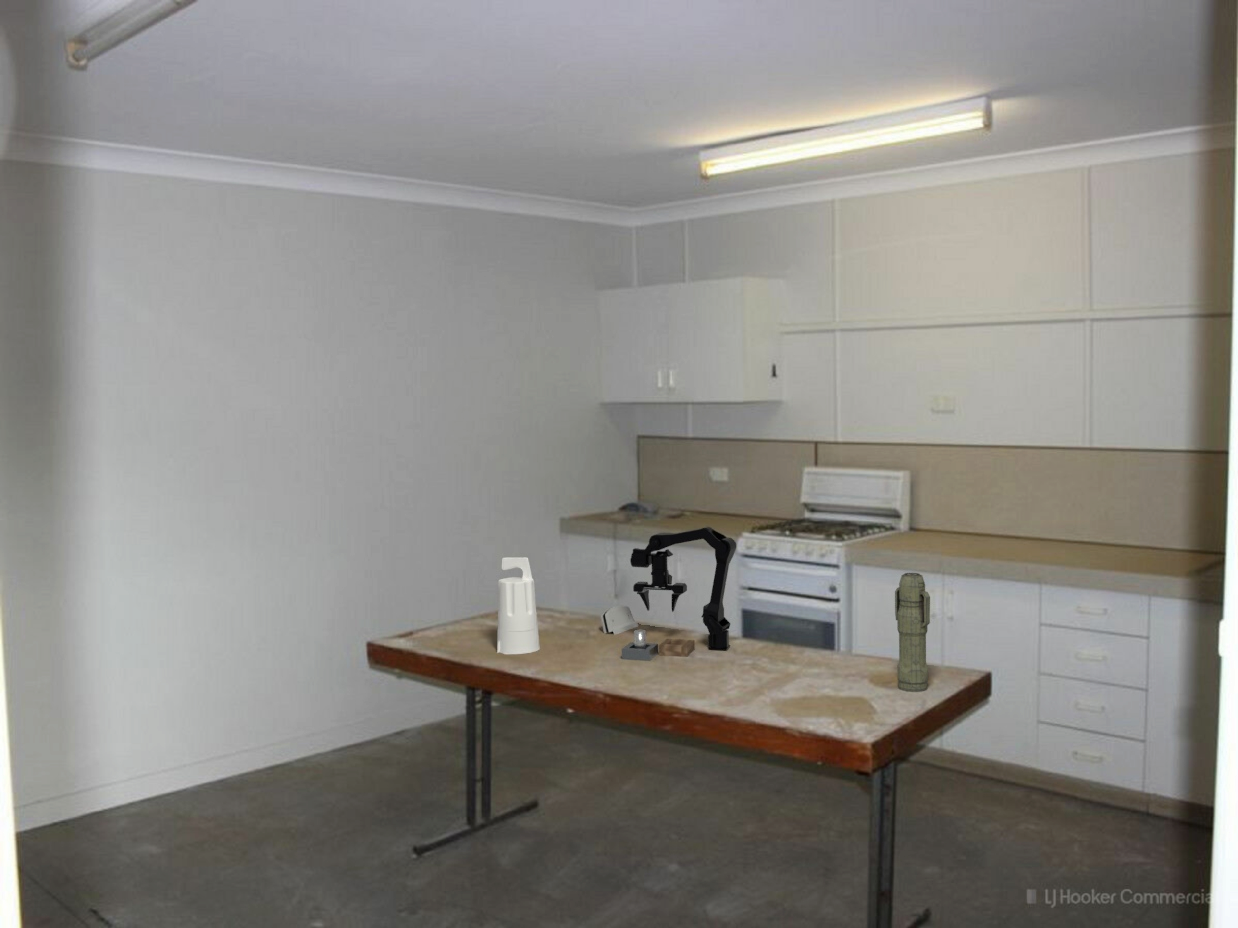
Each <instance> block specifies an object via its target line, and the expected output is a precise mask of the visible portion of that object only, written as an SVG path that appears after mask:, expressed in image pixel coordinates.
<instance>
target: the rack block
mask: <svg viewBox="0 0 1238 928" xmlns="http://www.w3.org/2000/svg"><path fill="white" fill-rule="evenodd" d="M657 655H659V644H658V643H655V642H654V643H652V642H651V643H650V642H646V649H638V648H634V641H633V642H632V641H630V642H629V643H628V644H626V645H625V646H624V647H622V648H621V660H631V661H632V660H634V661H645V662H646V661H649V662H650V661H651V660H653V658H655V657H657Z"/></svg>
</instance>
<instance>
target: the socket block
mask: <svg viewBox="0 0 1238 928" xmlns="http://www.w3.org/2000/svg"><path fill="white" fill-rule="evenodd" d="M695 644H696V643H695V639H681V638H666V639H665V640H663V641H662V642H661V643H660V644H658V655H659V656H670V657H683V658H685V657H688V656H690V655H691V654H692V653H693V652H694V651H695V649H696V648H695V647H696V646H695Z"/></svg>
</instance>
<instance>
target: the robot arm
mask: <svg viewBox="0 0 1238 928" xmlns="http://www.w3.org/2000/svg"><path fill="white" fill-rule="evenodd" d="M698 540H704V541H705V542H706V543H707V544H708V545H709V546H710V548H713V549H714V555H715V556H714V557H715V561H716V564H715V570H714V577H713V582H712V589H711V594H710V600H709V602H708V603H707V604H705V605H704V606H702V615H701V618H702V623H703V624H704V626H705V627H706V629H707V631H708V633H709V634H708V635H707V644H708V645H707V647H708V650H713V651H728V650H729V648H730V647H731V645H730V637H729V636H730V631H729V629H730V627H731V622H730V621H729V620H728V619H727V618H726V617H725V607H724V596H725V595H724V594H725V590H726V585H727V579H728V573H729V567H730V563H731V561H732V559H733V558H734V556H735V552H736V550H737V542H736V541H735V540H734V539H733V538H732V537H727V536H726V535H725V534H723V533H721V532H720V531H716V530H715V529H714V528H712V527H710V526H705V527H702V528H696V529H691V530H686V531H680V532H675V533H674V532H659V533H656V534H653V535H651V536H650V538H649V541H648V544H647V545H646V546H645V548H639V547H637V548H635V547H634V548H633V549H632V553H631V556H630V559H629V561H630V565H631V567H632V568H645V569H646V568H647V569H648V568H649V567H650V566H651V572H650V575H651V583H650V584H649V582H648V581H637V582H635V583H634V584H633V586H632V588H633V590H632V591H633V592H636V594H637V595H639V596H640V598H641V600H642V601H643V603H644V606H645V608H646V611H650V608H651V607H650V597H649V593H650V591H651V590H653V591H654V590H655V591H672V593H671V612H672V613H674V611H675V609H676V605H677V603H678V599H679V597H680V596H681V595H682V594H685V593H686V592H687V591H688V585H687V583H686V582H675V583H674V584H672V582H673V575H672V574H670V573H669V569H668V568H669V567H668V558H670V557H672V556H673V555H674V553H673V552H671V550H669V549H666V548H669V547H671V546H674V545H676V544H677V545H678V544H682V543H687V542H692V541H698ZM663 549H665V550H663ZM655 552H656V553H655Z"/></svg>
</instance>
